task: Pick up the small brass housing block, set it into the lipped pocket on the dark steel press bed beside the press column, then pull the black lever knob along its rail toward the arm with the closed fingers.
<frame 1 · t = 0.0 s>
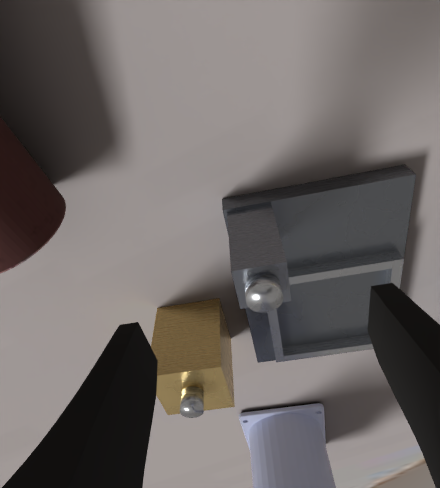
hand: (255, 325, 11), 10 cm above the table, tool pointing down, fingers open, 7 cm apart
housing: (195, 323, 26), on the table
press bed: (316, 275, 23), on the table
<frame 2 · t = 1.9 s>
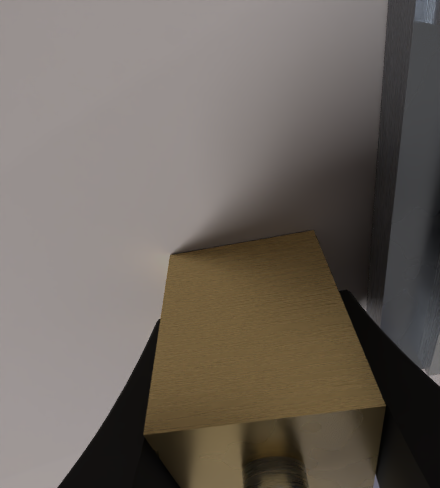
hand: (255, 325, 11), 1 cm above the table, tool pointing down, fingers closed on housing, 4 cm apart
housing: (250, 293, 12), on the table, touching gripper
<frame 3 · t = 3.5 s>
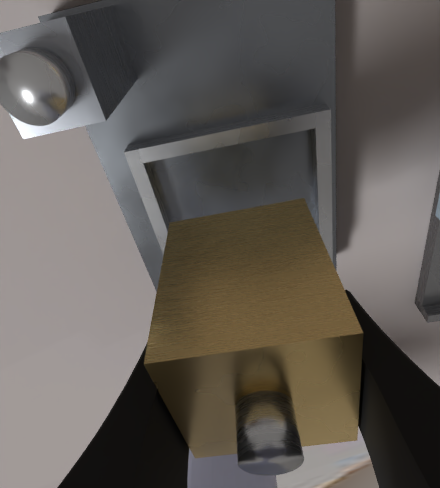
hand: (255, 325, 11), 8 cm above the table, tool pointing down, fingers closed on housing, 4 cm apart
housing: (246, 262, 13), point 6 cm above the table, touching gripper
press bed: (221, 162, 17), on the table
when the fingers open (4 cm above the table, at t = 4.6 s): housing stays where it is, resting on press bed.
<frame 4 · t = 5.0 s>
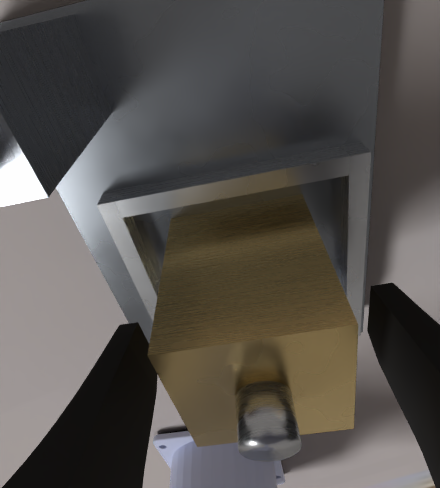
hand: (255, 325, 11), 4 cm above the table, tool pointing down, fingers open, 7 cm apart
housing: (245, 257, 13), point 1 cm above the table, touching press bed
press bed: (223, 207, 13), on the table
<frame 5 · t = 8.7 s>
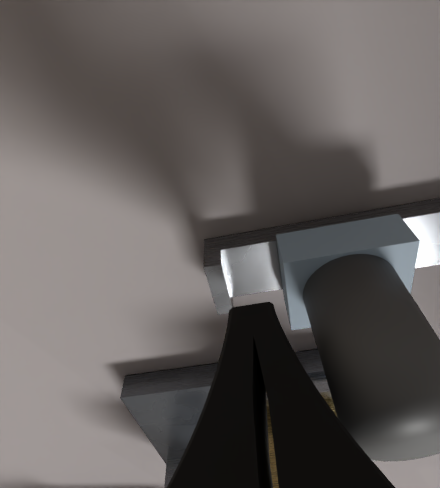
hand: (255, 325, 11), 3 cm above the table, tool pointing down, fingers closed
housing: (300, 421, 19), point 1 cm above the table, touching press bed
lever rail: (380, 235, 13), on the table
lever: (365, 326, 10), point 4 cm above the table, slide at 1.1 cm, touching gripper
press bed: (269, 408, 21), on the table
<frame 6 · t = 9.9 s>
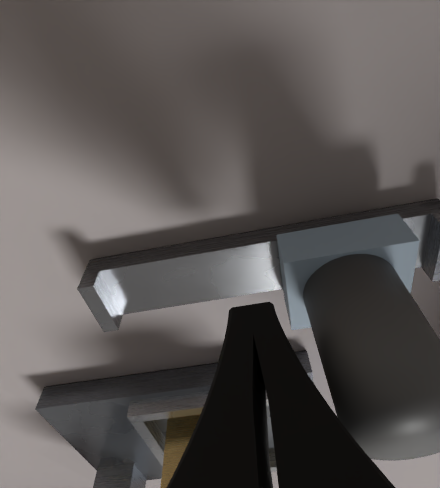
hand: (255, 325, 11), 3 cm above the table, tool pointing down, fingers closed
housing: (218, 430, 20), point 1 cm above the table, touching press bed
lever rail: (259, 255, 14), on the table
lever: (365, 325, 10), point 4 cm above the table, slide at 5.7 cm, touching gripper
press bed: (193, 417, 21), on the table
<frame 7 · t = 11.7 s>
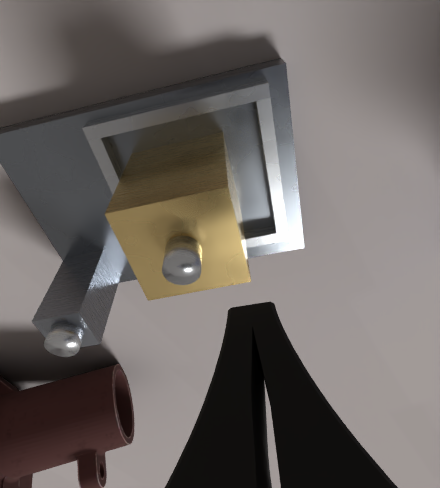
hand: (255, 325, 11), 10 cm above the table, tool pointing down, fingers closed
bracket: (30, 378, 30), on the table
housing: (189, 184, 18), point 1 cm above the table, touching press bed
press bed: (165, 188, 19), on the table
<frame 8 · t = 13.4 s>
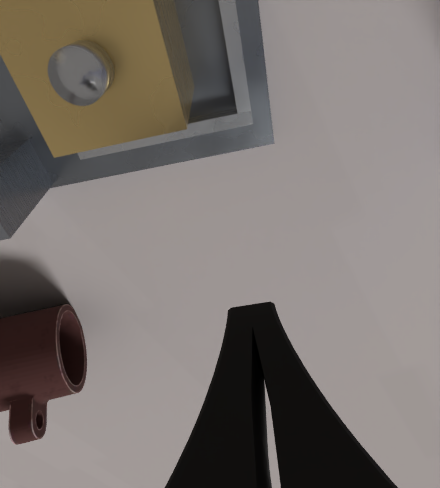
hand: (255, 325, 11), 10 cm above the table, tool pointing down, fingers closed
housing: (127, 41, 14), point 1 cm above the table, touching press bed
press bed: (102, 58, 16), on the table
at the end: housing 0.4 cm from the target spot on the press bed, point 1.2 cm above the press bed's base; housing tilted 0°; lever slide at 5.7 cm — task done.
